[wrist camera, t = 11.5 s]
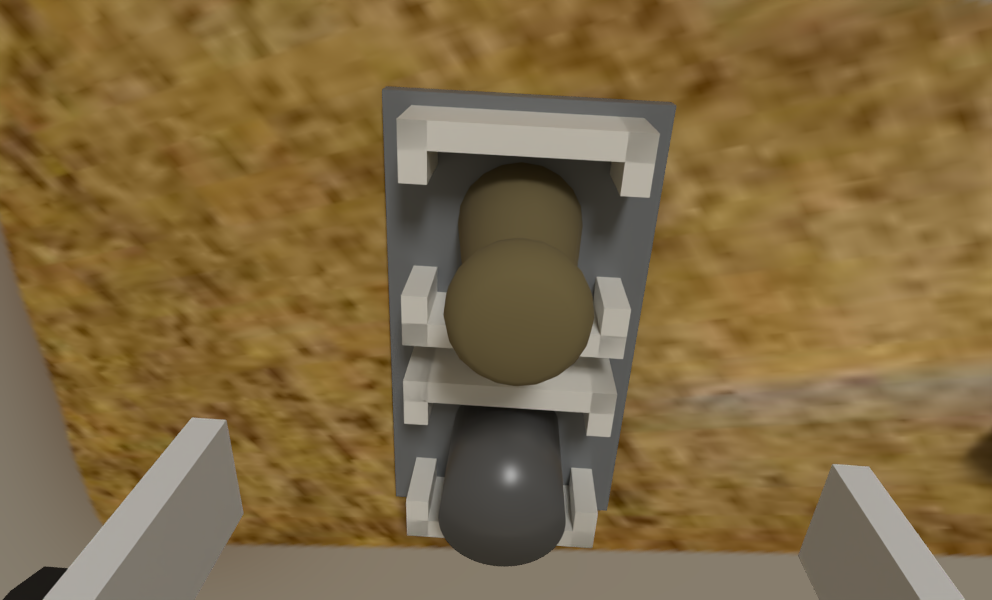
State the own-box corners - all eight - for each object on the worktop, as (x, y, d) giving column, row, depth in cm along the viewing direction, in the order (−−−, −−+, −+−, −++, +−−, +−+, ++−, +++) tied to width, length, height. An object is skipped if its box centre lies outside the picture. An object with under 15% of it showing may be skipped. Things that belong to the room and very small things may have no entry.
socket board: (671, 102, 28) (722, 138, 20) (604, 498, 38) (622, 613, 31) (386, 86, 28) (338, 116, 21) (399, 484, 39) (370, 595, 31)
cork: (480, 294, 31) (460, 430, 21) (440, 183, 29) (396, 280, 19) (595, 263, 30) (630, 391, 20) (564, 145, 28) (587, 227, 18)
